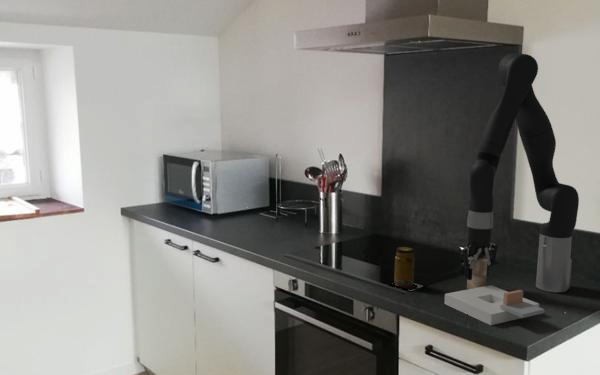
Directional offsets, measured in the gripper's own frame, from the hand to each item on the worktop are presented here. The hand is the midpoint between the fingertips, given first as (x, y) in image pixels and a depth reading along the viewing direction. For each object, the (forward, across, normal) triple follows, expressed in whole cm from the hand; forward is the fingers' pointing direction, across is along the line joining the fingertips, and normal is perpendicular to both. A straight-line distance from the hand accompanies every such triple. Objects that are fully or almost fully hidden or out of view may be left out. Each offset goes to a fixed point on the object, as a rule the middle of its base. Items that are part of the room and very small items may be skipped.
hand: (476, 277), depth 186 cm
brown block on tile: (0, -9, -26) cm, 28 cm away
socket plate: (+4, -9, -15) cm, 18 cm away
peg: (+4, 0, 0) cm, 4 cm away
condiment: (+4, -18, +12) cm, 22 cm away
